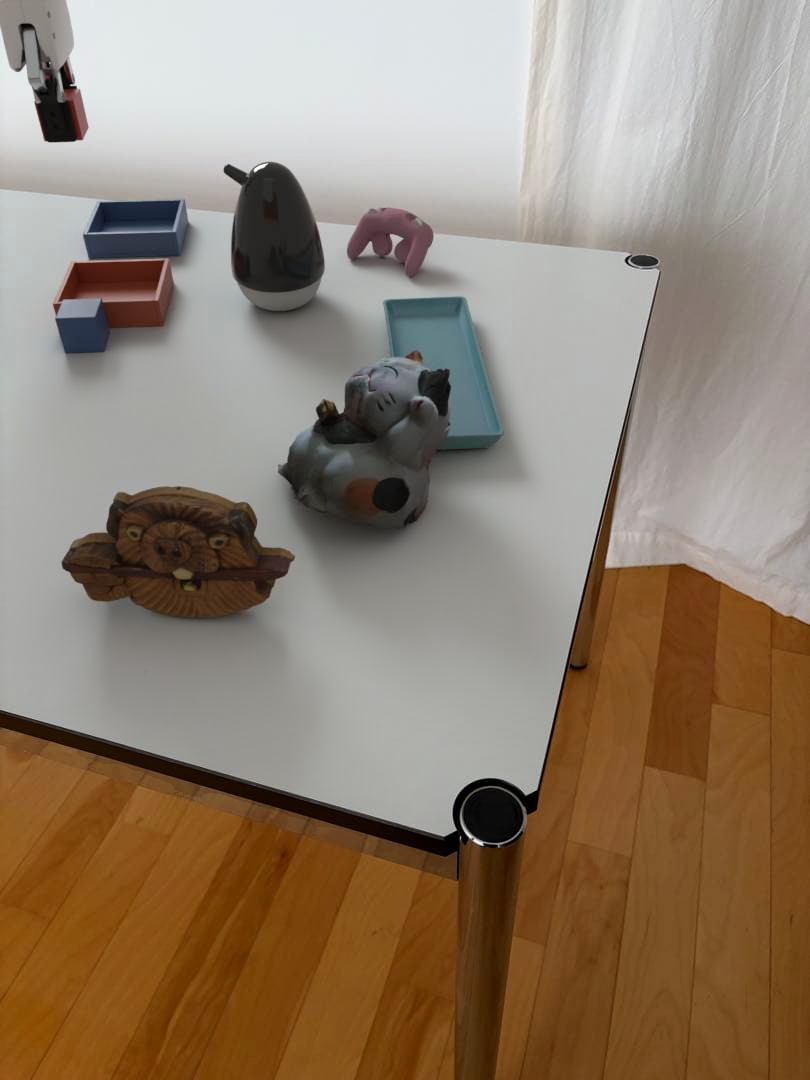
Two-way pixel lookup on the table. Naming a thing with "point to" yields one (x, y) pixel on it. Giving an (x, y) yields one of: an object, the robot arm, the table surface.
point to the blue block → (82, 325)
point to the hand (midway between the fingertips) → (65, 131)
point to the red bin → (121, 289)
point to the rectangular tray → (448, 363)
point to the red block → (74, 112)
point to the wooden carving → (178, 554)
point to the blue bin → (136, 228)
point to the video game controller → (378, 231)
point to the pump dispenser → (274, 239)
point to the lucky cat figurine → (374, 444)
